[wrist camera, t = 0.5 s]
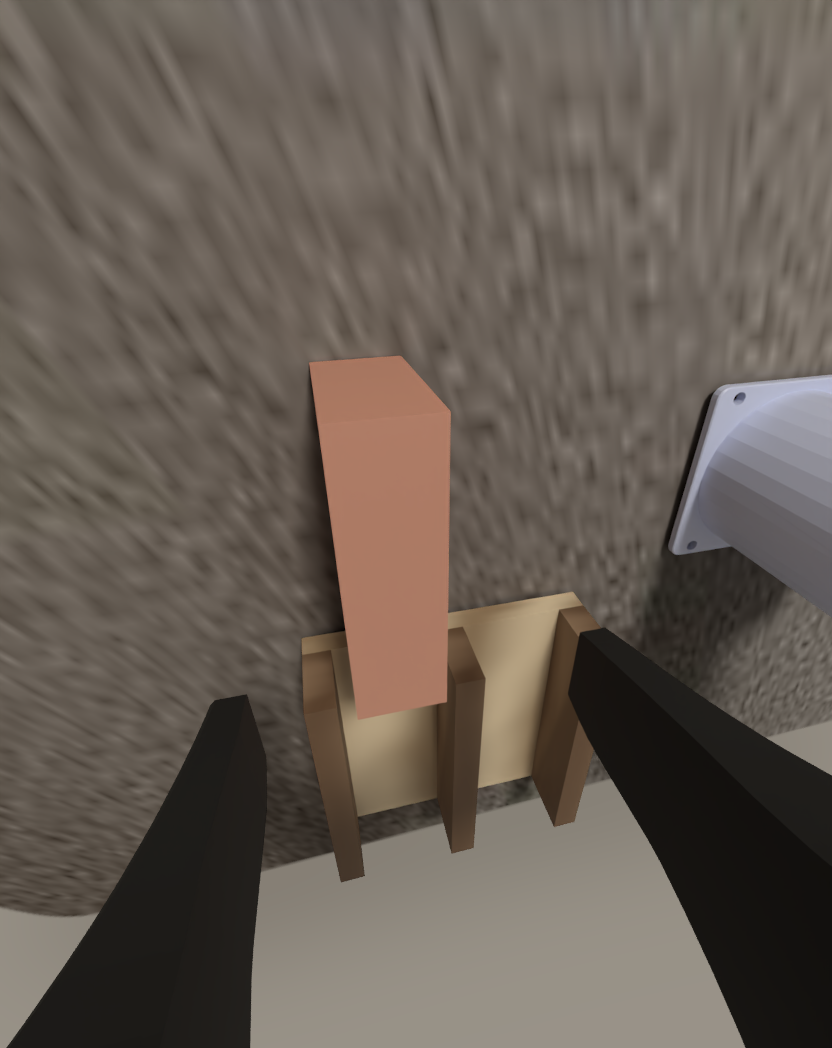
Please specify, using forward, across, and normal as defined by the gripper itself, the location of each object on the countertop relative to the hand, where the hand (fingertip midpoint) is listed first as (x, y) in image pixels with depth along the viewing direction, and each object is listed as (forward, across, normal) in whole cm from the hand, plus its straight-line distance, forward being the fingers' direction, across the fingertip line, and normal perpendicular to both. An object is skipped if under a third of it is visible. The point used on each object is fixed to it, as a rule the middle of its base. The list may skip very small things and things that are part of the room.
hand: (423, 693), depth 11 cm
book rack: (+9, -3, +13) cm, 16 cm away
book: (+10, 0, 0) cm, 10 cm away
